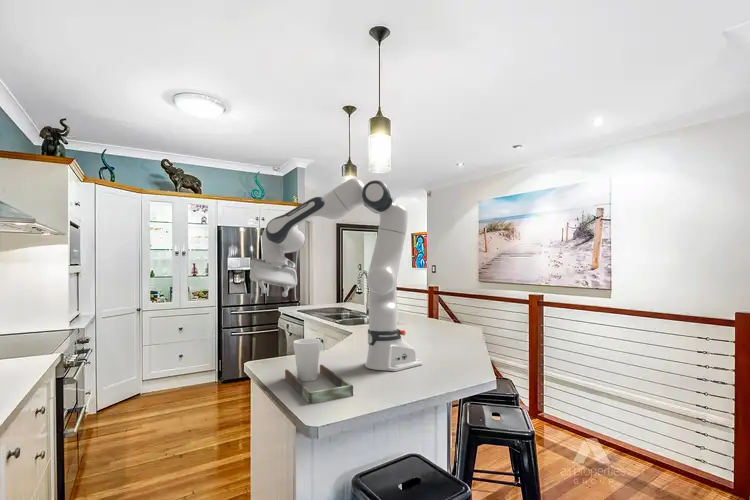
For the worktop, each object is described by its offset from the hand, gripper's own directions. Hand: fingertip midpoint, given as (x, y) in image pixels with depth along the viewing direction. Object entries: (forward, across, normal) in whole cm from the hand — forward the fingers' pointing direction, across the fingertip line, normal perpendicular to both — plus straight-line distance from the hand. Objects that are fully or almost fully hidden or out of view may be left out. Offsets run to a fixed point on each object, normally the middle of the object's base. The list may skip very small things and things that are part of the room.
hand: (275, 294), depth 147 cm
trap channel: (+38, +2, -18) cm, 42 cm away
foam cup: (+34, +6, -9) cm, 35 cm away
